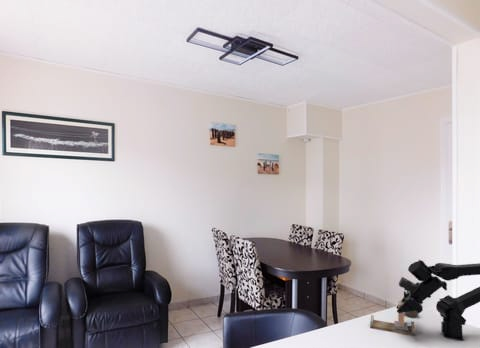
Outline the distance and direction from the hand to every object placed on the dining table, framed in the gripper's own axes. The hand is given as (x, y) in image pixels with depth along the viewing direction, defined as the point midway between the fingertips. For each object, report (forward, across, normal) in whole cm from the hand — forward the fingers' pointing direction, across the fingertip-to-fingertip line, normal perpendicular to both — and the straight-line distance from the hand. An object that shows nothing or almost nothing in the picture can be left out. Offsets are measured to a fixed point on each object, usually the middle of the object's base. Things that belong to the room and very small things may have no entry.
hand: (397, 310), depth 139 cm
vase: (+1, -19, +10) cm, 22 cm away
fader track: (+7, 0, +4) cm, 8 cm away
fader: (+4, 0, +6) cm, 7 cm away
